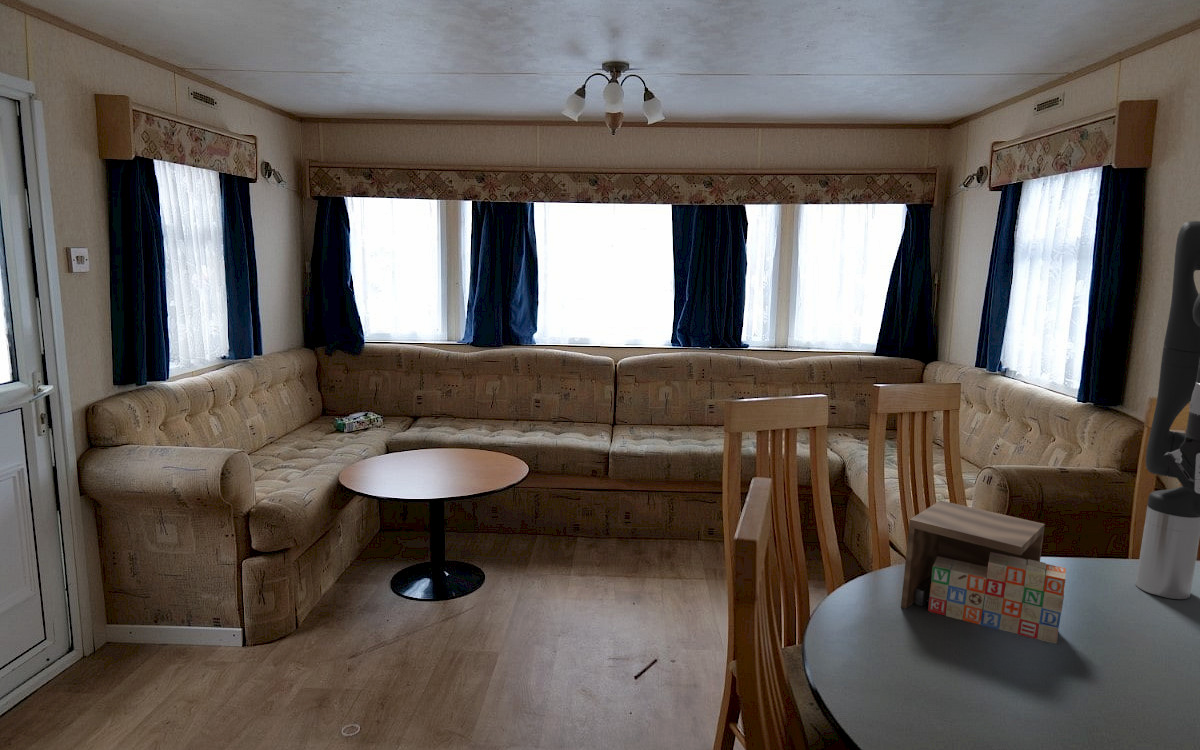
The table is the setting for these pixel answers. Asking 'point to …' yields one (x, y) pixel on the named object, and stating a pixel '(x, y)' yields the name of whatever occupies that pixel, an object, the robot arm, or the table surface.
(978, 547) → the overhang shelf
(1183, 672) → the table surface
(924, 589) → the registration seat
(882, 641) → the table surface
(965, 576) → the stack of blocks
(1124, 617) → the table surface
